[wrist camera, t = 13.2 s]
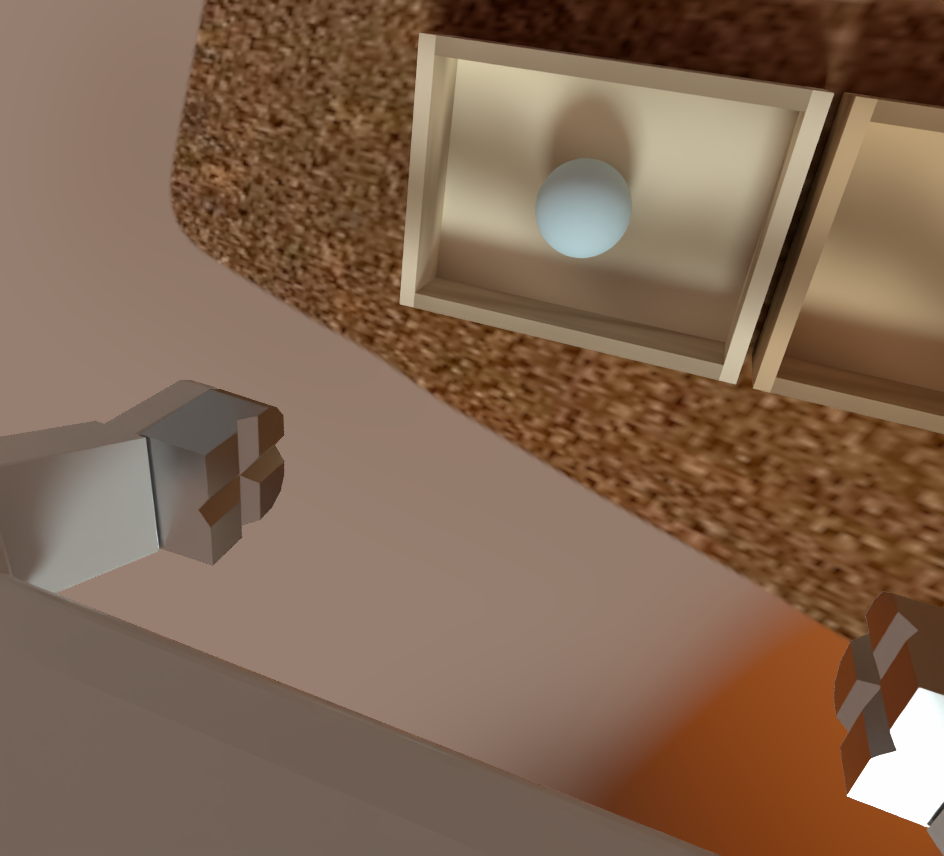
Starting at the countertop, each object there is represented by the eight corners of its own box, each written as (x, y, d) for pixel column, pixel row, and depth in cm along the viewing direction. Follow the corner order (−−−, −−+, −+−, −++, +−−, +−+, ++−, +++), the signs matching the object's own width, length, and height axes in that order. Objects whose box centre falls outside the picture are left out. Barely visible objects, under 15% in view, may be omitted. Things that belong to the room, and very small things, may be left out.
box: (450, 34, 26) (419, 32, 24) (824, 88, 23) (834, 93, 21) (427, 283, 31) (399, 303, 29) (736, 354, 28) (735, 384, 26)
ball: (561, 148, 27) (531, 151, 24) (651, 165, 26) (630, 170, 23) (544, 240, 28) (514, 252, 25) (628, 259, 27) (606, 275, 24)
